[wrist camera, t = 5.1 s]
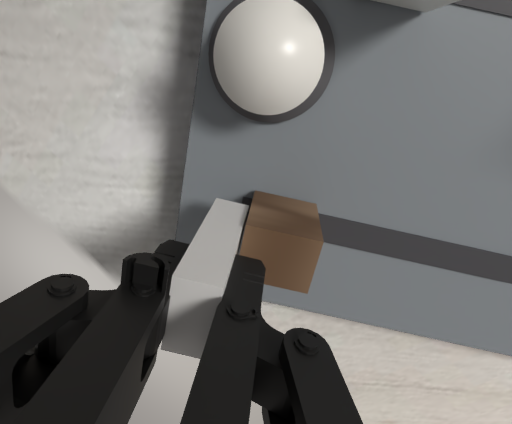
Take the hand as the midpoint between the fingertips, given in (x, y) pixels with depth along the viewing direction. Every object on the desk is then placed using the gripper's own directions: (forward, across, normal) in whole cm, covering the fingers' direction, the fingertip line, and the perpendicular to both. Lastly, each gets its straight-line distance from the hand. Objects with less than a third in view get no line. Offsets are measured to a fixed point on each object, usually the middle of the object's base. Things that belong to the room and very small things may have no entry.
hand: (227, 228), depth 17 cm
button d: (+1, 0, +7) cm, 8 cm away
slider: (+2, +2, 0) cm, 3 cm away
